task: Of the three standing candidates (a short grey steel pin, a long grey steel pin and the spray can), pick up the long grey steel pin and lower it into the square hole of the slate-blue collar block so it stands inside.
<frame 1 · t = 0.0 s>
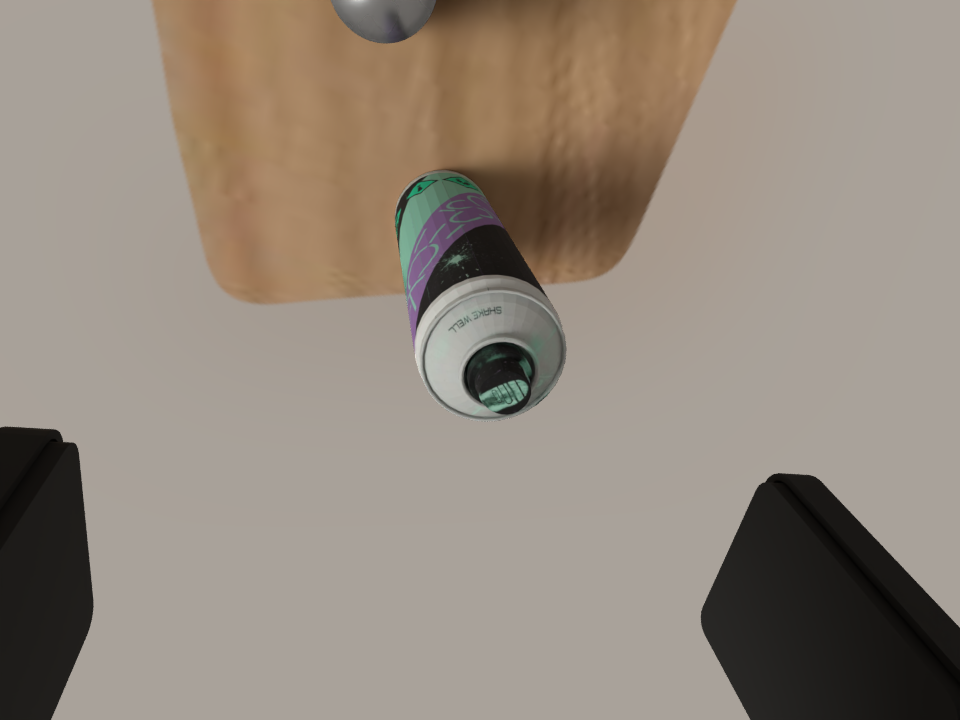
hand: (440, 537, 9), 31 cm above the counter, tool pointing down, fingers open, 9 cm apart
spray can: (441, 216, 39), on the counter
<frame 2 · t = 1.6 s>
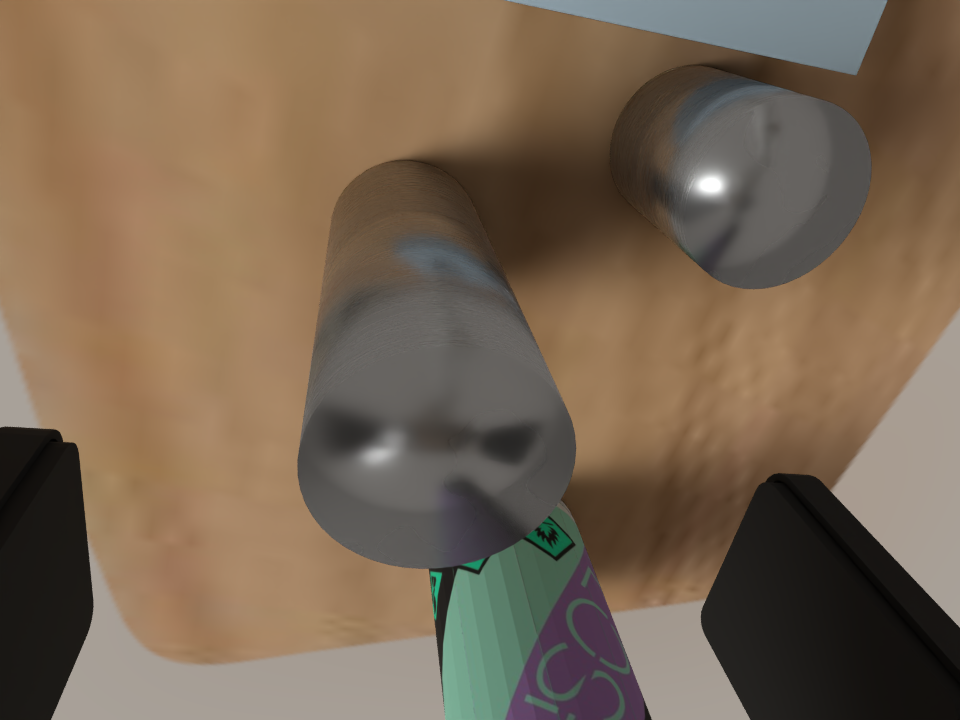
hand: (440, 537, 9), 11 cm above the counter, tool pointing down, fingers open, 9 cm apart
short pin: (681, 145, 18), on the counter
long pin: (405, 235, 18), on the counter
spray can: (501, 538, 25), on the counter
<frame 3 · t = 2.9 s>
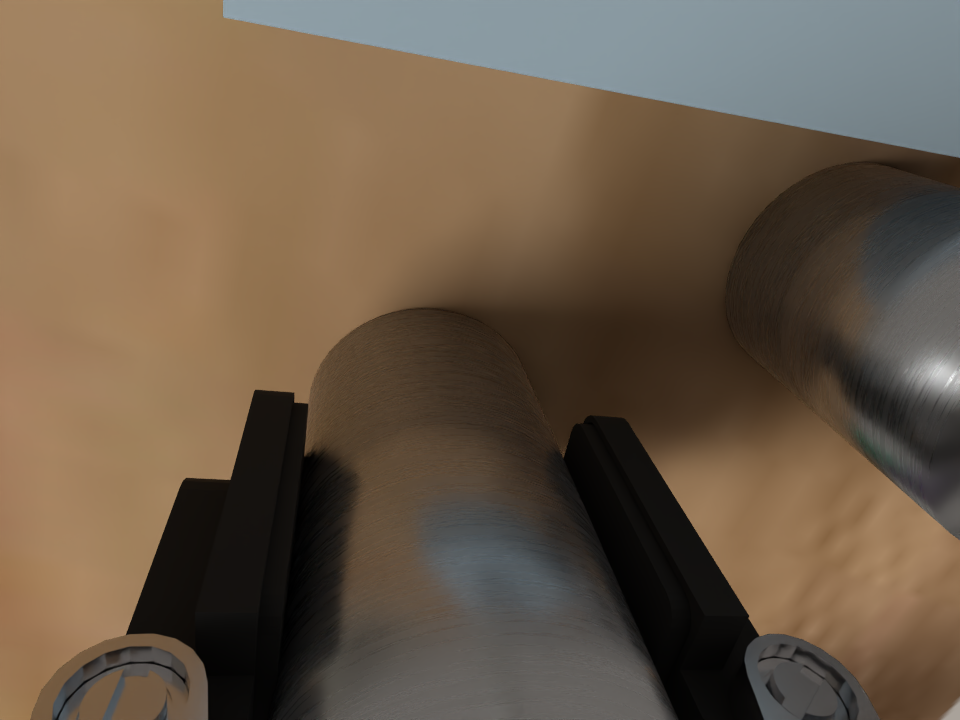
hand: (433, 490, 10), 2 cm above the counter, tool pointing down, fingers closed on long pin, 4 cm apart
short pin: (829, 274, 12), on the counter
long pin: (421, 409, 12), on the counter, touching gripper
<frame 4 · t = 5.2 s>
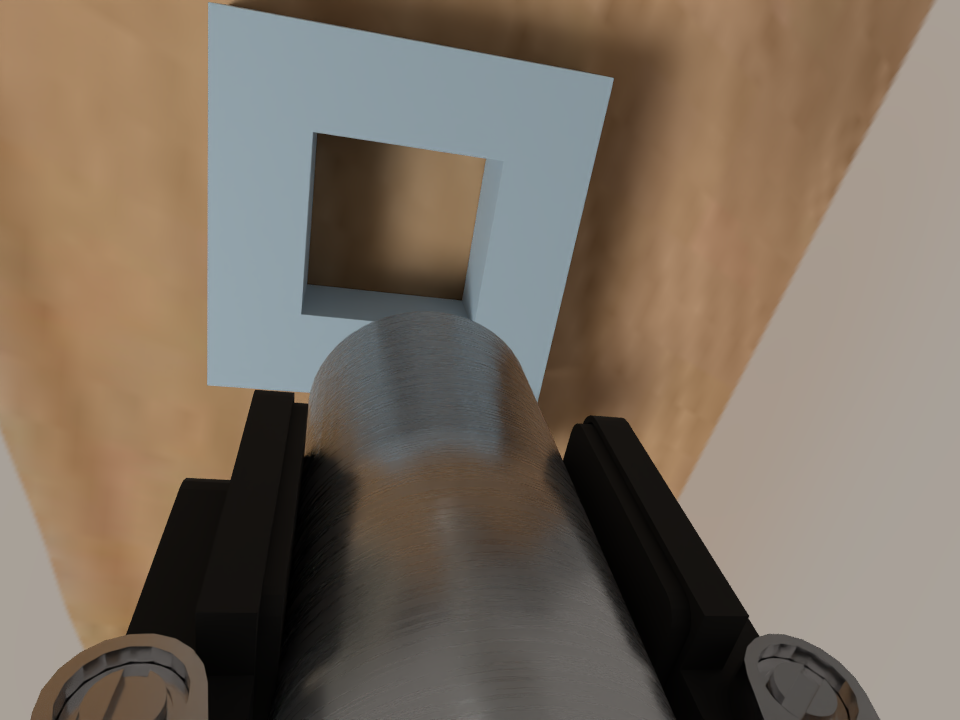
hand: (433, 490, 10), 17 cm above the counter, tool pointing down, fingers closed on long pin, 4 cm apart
collar block: (395, 216, 25), on the counter
long pin: (421, 411, 12), point 14 cm above the counter, touching gripper
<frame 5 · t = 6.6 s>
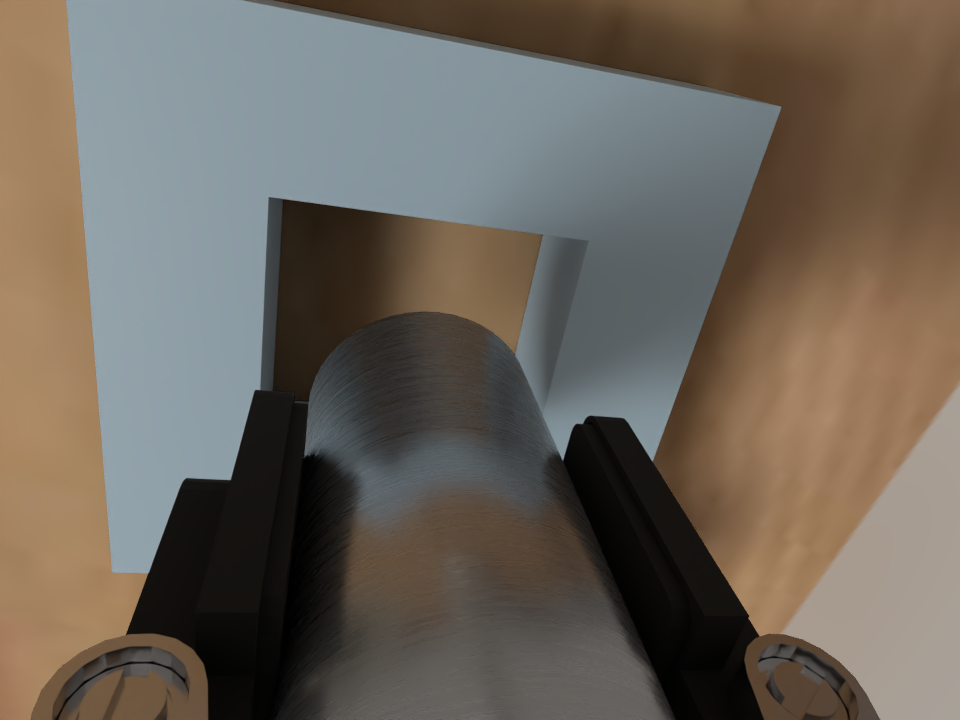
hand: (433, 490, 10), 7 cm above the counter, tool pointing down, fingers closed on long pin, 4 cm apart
collar block: (406, 303, 16), on the counter
long pin: (421, 412, 12), point 5 cm above the counter, touching gripper
when the fingers open (4 cm above the counter, at t = 7.6 s): long pin drops 1 cm, resting in collar block.
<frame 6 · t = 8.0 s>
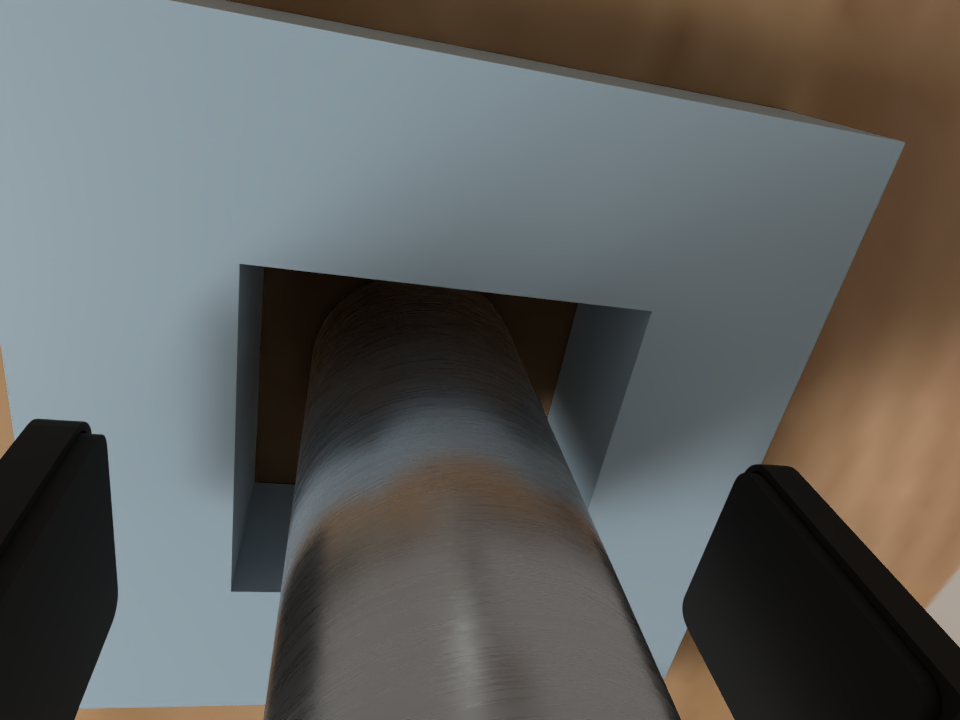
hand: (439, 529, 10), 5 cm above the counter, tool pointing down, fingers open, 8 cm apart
collar block: (415, 370, 14), on the counter
long pin: (414, 366, 14), resting in collar block
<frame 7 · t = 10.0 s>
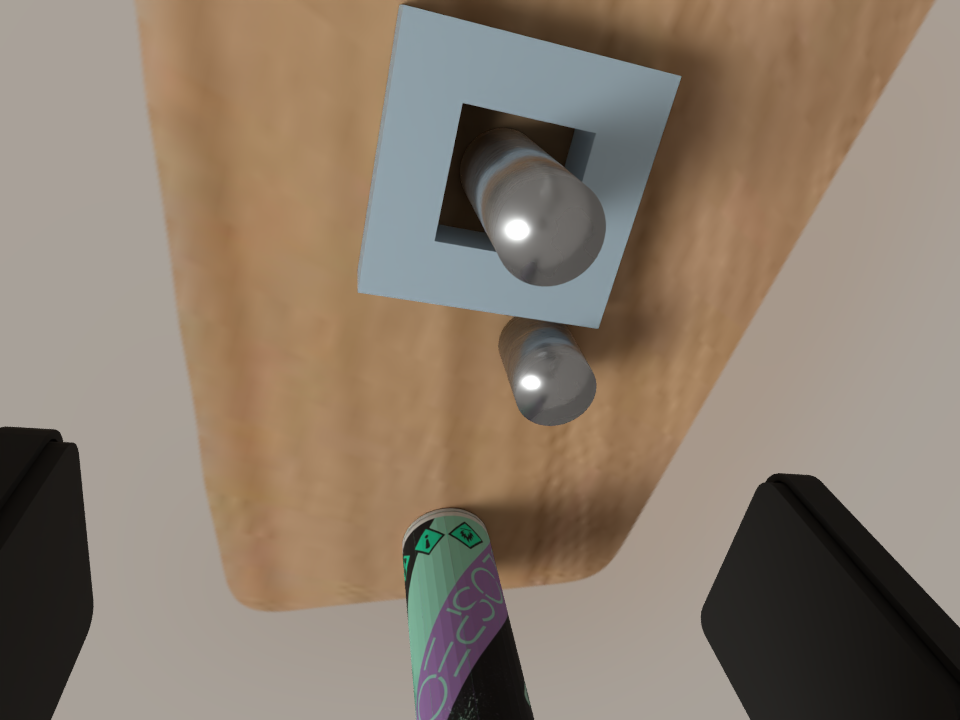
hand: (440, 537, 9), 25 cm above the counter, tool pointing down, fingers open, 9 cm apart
collar block: (501, 173, 33), on the counter
short pin: (534, 342, 37), on the counter
long pin: (501, 171, 33), resting in collar block
spray can: (445, 539, 43), on the counter
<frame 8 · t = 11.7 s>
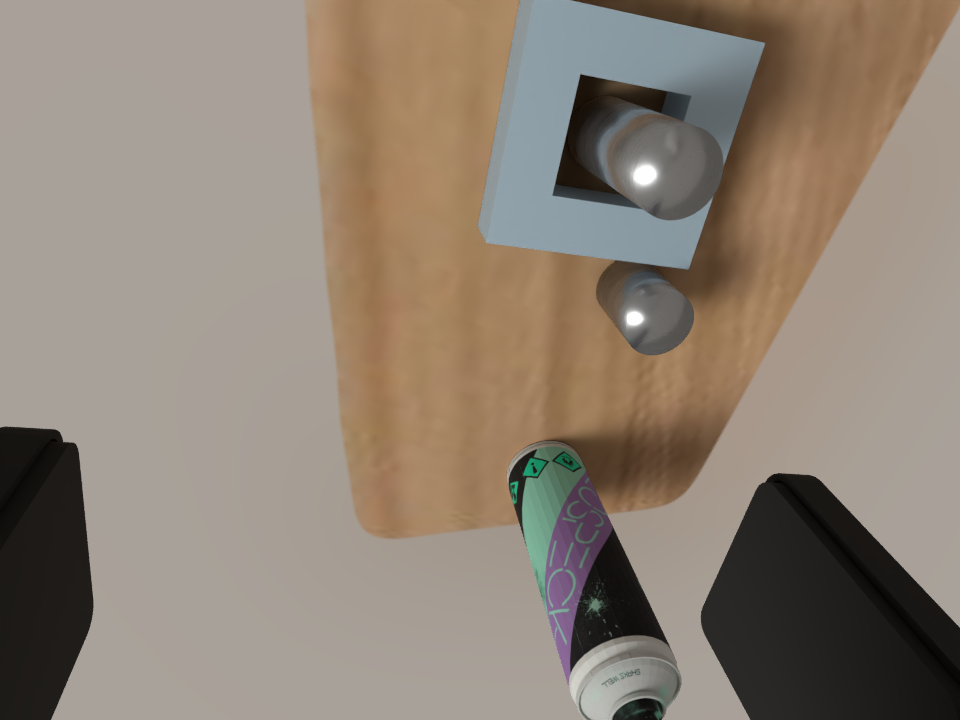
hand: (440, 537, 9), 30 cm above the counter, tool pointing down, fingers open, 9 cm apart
collar block: (602, 136, 38), on the counter
short pin: (627, 286, 42), on the counter
long pin: (602, 134, 37), resting in collar block
spray can: (543, 470, 48), on the counter
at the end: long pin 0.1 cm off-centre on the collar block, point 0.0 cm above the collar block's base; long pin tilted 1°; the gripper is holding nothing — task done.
